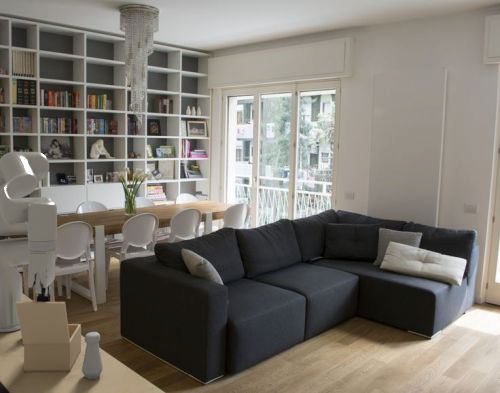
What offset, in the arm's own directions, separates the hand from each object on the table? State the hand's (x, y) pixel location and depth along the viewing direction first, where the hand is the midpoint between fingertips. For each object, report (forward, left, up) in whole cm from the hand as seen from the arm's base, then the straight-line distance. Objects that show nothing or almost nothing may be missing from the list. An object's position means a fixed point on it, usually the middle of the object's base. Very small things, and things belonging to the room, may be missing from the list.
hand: (43, 308), depth 138 cm
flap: (-1, 0, -4) cm, 4 cm away
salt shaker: (0, +13, -21) cm, 25 cm away
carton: (-10, 0, -21) cm, 23 cm away
